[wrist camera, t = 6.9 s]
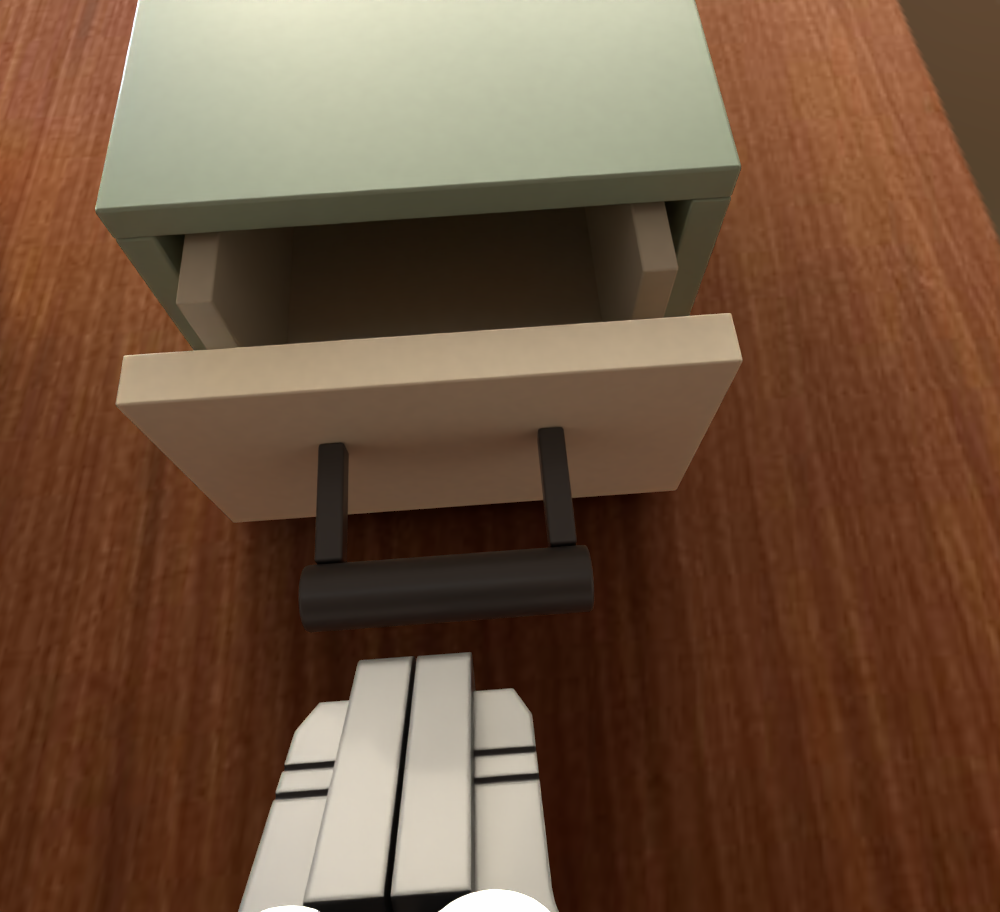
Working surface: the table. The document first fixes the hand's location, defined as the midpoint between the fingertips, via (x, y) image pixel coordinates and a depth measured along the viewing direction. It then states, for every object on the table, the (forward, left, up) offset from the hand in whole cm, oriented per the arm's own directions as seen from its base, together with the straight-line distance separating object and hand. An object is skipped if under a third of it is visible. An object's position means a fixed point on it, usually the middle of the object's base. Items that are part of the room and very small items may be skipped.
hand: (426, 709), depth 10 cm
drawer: (+12, -3, -9) cm, 16 cm away
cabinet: (+19, -4, -10) cm, 22 cm away
